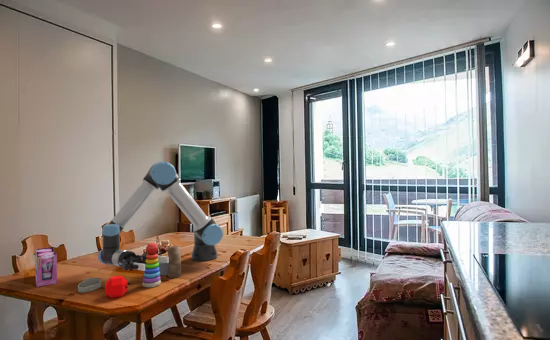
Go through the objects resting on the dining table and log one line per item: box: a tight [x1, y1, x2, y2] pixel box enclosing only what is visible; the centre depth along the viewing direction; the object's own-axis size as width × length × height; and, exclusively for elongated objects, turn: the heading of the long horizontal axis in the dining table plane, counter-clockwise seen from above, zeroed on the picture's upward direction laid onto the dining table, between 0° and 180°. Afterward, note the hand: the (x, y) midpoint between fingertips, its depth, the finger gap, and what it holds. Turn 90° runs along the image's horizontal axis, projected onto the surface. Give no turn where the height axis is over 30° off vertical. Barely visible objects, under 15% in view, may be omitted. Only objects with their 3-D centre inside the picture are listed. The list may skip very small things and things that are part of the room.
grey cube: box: [158, 262, 168, 277], centre depth 163 cm, size 6×6×6 cm
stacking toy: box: [141, 242, 162, 288], centre depth 146 cm, size 8×8×19 cm
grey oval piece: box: [77, 277, 102, 293], centre depth 141 cm, size 9×6×5 cm
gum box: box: [34, 246, 58, 288], centre depth 157 cm, size 24×8×14 cm, turn 38°
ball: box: [104, 274, 129, 299], centre depth 133 cm, size 8×8×8 cm
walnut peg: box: [167, 245, 182, 279], centre depth 158 cm, size 6×6×14 cm
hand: (156, 263), depth 144 cm, fingers open, 13 cm apart
